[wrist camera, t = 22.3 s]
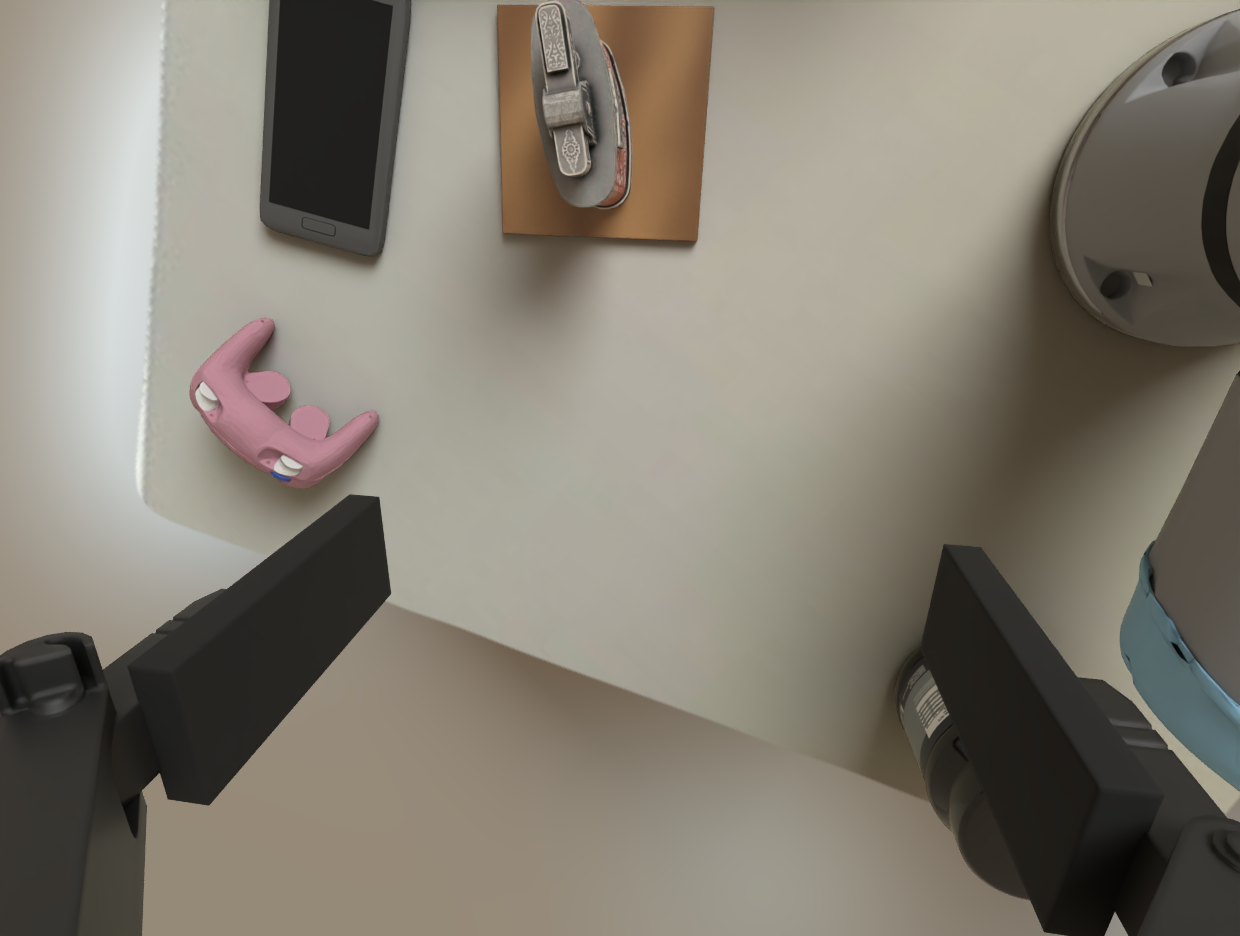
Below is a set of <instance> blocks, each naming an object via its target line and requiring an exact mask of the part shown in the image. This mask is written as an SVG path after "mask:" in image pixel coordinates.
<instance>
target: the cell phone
mask: <svg viewBox="0 0 1240 936" xmlns="http://www.w3.org/2000/svg"><path fill="white" fill-rule="evenodd" d="M410 14H411V0H270V1H269V23H268V44H267V65H266V87H265V108H264V130H263V151H262V173H261V194H260V218H261V221H262V222H263V223H264V224H265V225H266V226H267V227H269V228H271V229H273V230H276V231H278V232H281V233H285V234H288V235H292V236H296V237H299V238H303V239H306V240H310V241H313V242H317V243H321V244H324V245H328V246H331V247H335V248H339V249H342V250H346V251H349V252H353V253H356V254H360V255H365V256H375V255H377V254H380V253H381V252H382V248H383V245H384V241H385V234H386V225H387V216H388V208H389V199H390V190H391V182H392V173H393V165H394V156H395V147H396V139H397V130H398V121H399V113H400V104H401V96H402V87H403V78H404V70H405V61H406V52H407V44H408V35H409V27H410Z"/></svg>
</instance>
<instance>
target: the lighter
mask: <svg viewBox="0 0 1240 936" xmlns="http://www.w3.org/2000/svg"><path fill="white" fill-rule="evenodd" d="M531 76H532V86H533V96H534V106H535V115H536V119H537V123H538V128H539V132H540V136H541V141H542V145H543V149H544V154H545V157H546V160H547V162H548V165H549V168H550V171H551V174H552V177H553V180H554V183H555V186H556V189H557V191H558V192H559V194H560V196H561V198H563V199H564V200H565V201H566V202H567V203H569V204H571V205H574V206H577V207H596V208H598V209H613V208H616V207H619V206H620V205H621V204H623V203H624V202H625V201H626V199H627V198H628V196H629V195H630V191H631V183H632V162H633V152H632V135H631V122H630V116H629V111H628V106H627V100H626V95H625V90H624V86H623V83H622V80H621V76H620V73H619V70H618V67H617V63H616V60H615V57H614V55H613V53H612V51H611V50H610V48H609V46H608V45H607V44H606V43H604V42H603V41H602V40H600V38H599V34H598V31H597V28H596V25H595V21H594V20H593V18H592V16H591V14H590V12H589V10H588V8H587V7H586V6H585V5H584V4H583V3H581V2H580V1H579V0H548V1H546V2H544V3H542V4H540V5H539V6H538V7H537V9H536V13H535V15H534V17H533V21H532V26H531Z"/></svg>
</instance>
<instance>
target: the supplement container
mask: <svg viewBox="0 0 1240 936" xmlns="http://www.w3.org/2000/svg"><path fill="white" fill-rule="evenodd" d="M895 706H896V711H897V714H898V718H899V720H900V723H901V725H902V727H903V729H904V730H905V732H906V735H907V737H908V740H909V742H910V745H911V747H912V750H913V753H914V755H915V758H916V760H917V763H918V765H919V768H920V770H921V773H922V775H923V778H924V781H925V783H926V790H927V794H928V797H929V800H930V802H931V805H932V807H933V809H934V811H935V812H936V814H937V815H938V817H939V818H940V820H941V821H942V822H943V824H944V825H945V826H946V827H947V828H948V829H949V830H950V831H952V832H953V835H954V837H955V840H956V842H957V845H958V847H959V850H960V852H961V854H962V856H963V859H964V860H965V862H966V864H967V865H968V867H969V868H970V869H971V870H972V871H973V872H974V873H975V874H976V875H977V876H978V877H979V878H980V879H981V880H982V881H984V882H985V883H987V884H988V885H990V886H991V887H993V888H995V889H997V890H999V891H1001V892H1003V893H1005V894H1008V895H1011V896H1014V897H1017V898H1021V899H1025V900H1030V899H1029V896H1028V894H1027V892H1026V889H1025V887H1024V885H1023V883H1022V880H1021V878H1020V876H1019V873H1018V871H1017V869H1016V867H1015V864H1014V862H1013V860H1012V857H1011V855H1010V853H1009V850H1008V848H1007V846H1006V844H1005V841H1004V839H1003V837H1002V834H1001V832H1000V830H999V828H998V825H997V823H996V821H995V818H994V816H993V814H992V812H991V809H990V807H989V805H988V802H987V800H986V798H985V796H984V793H983V791H982V789H981V786H980V784H979V782H978V780H977V777H976V775H975V773H974V770H973V768H972V766H971V764H970V761H969V759H968V757H967V754H966V752H965V750H964V747H963V745H962V743H961V741H960V738H959V736H958V734H957V731H956V729H955V727H954V725H953V722H952V720H951V718H950V715H949V713H948V711H947V709H946V706H945V704H944V702H943V699H942V697H941V695H940V693H939V690H938V688H937V686H936V683H935V681H934V679H933V677H932V674H931V672H930V670H929V667H928V665H927V663H926V661H925V658H924V656H923V654H922V651H921V649H920V647H919V648H918V649H917V650H916V651H915V652H914V653H913V654H912V655H911V656H910V657H909V658H908V660H907V661H906V662H905V664H904V665H903V667H902V669H901V671H900V673H899V676H898V679H897V682H896V686H895Z"/></svg>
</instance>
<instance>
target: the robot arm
mask: <svg viewBox="0 0 1240 936" xmlns="http://www.w3.org/2000/svg"><path fill="white" fill-rule="evenodd" d="M1050 238H1051V246H1052V250H1053V255H1054V259H1055V262H1056V265H1057V268H1058V271H1059V273H1060V275H1061V277H1062V279H1063V281H1064V283H1065V285H1066V286H1067V288H1068V290H1069V291H1070V293H1071V294H1072V296H1073V297H1074V298H1075V299H1076V300H1077V302H1078V303H1079V304H1080V305H1081V306H1082V307H1083V308H1084V309H1085V310H1086V311H1087V312H1088V313H1089V314H1091V315H1092V316H1093V317H1095V318H1096V319H1097V320H1099V321H1100V322H1102V323H1104V324H1105V325H1107V326H1109V327H1111V328H1113V329H1115V330H1117V331H1120V332H1122V333H1124V334H1127V335H1131V336H1134V337H1137V338H1141V339H1144V340H1148V341H1152V342H1156V343H1161V344H1166V345H1173V346H1182V347H1203V346H1205V347H1206V346H1222V345H1230V344H1236V343H1240V9H1238V10H1235V11H1232V12H1229V13H1226V14H1223V15H1221V16H1218V17H1216V18H1213V19H1211V20H1208V21H1206V22H1203V23H1200V24H1198V25H1196V26H1194V27H1191V28H1189V29H1187V30H1184V31H1182V32H1180V33H1179V34H1177V35H1175V36H1173V37H1171V38H1169V39H1168V40H1166V41H1164V42H1163V43H1161V44H1159V45H1158V46H1156V47H1155V48H1153V49H1152V50H1150V51H1149V52H1147V53H1146V54H1145V55H1143V56H1142V57H1141V58H1140V59H1138V60H1137V61H1136V62H1134V63H1133V64H1132V65H1131V66H1130V67H1129V68H1127V69H1126V70H1125V71H1124V72H1123V73H1122V74H1121V75H1120V76H1118V77H1117V79H1116V80H1115V81H1114V82H1113V83H1112V84H1111V85H1110V86H1109V87H1108V88H1107V89H1106V90H1105V91H1104V92H1103V93H1102V95H1101V96H1100V97H1099V98H1098V100H1097V101H1096V102H1095V103H1094V104H1093V106H1092V107H1091V109H1090V110H1089V111H1088V113H1087V114H1086V116H1085V117H1084V118H1083V120H1082V122H1081V123H1080V125H1079V127H1078V128H1077V130H1076V132H1075V133H1074V135H1073V137H1072V139H1071V141H1070V143H1069V145H1068V147H1067V149H1066V151H1065V154H1064V156H1063V159H1062V161H1061V164H1060V166H1059V169H1058V173H1057V176H1056V180H1055V183H1054V188H1053V193H1052V198H1051V206H1050ZM390 595H391V589H390V581H389V573H388V565H387V557H386V549H385V540H384V532H383V524H382V516H381V508H380V500H379V497H374V496H362V495H348V496H347V497H346V498H345V499H343V500H342V501H341V502H339V503H338V504H337V505H335V506H334V507H333V508H332V509H330V510H329V511H328V512H326V513H325V514H324V515H323V516H321V517H320V518H319V519H317V520H316V521H315V522H313V523H312V524H311V525H310V526H308V527H307V528H306V529H304V530H303V531H302V532H300V533H299V534H298V535H297V536H295V537H294V538H293V539H291V540H290V541H289V542H287V543H286V544H285V545H284V546H282V547H281V548H280V549H278V550H277V551H276V552H275V553H273V554H272V555H271V556H269V557H268V558H267V559H265V560H264V561H263V562H262V563H260V564H259V565H258V566H256V567H255V568H254V569H252V570H251V571H250V572H249V573H247V574H246V575H245V576H243V577H242V578H241V579H240V580H238V581H237V582H236V583H234V584H233V585H232V586H230V587H229V588H228V589H220V590H218V591H216V592H214V593H212V594H210V595H207V596H205V597H203V598H201V599H199V600H197V601H195V602H193V603H192V604H190V605H189V606H188V607H186V608H185V609H184V610H182V611H181V612H180V613H178V614H177V615H176V616H174V617H173V620H172V621H171V620H169V621H168V622H166V623H165V624H164V625H162V626H161V627H160V628H158V629H157V630H156V633H155V634H153V633H152V634H150V635H149V636H148V637H146V638H145V639H143V640H142V641H141V642H140V643H138V644H137V645H135V646H134V647H133V648H131V649H130V650H129V651H127V652H126V653H125V654H123V655H122V656H121V657H119V658H118V659H117V660H115V661H114V662H113V663H111V664H110V665H109V666H108V667H106V668H105V669H103V670H102V667H101V664H100V660H99V657H98V654H97V651H96V648H95V645H94V642H93V639H92V637H91V636H89V635H86V634H84V633H77V632H64V633H58V634H51V635H46V636H43V637H40V638H37V639H33V640H30V641H27V642H25V643H22V644H21V645H18V646H16V647H14V648H12V649H10V650H8V651H6V652H5V653H3V654H2V655H0V936H142V918H143V892H144V866H145V839H146V813H147V805H146V803H145V799H144V796H143V793H142V790H143V789H144V788H145V787H146V786H147V785H148V784H149V783H150V782H151V781H152V780H153V779H154V778H155V777H156V776H157V775H158V773H160V775H161V778H162V781H163V785H164V787H165V791H166V794H167V798H168V799H169V800H176V801H183V802H189V803H196V804H202V805H210V804H211V803H212V802H213V800H214V799H215V798H216V797H217V796H218V795H219V793H220V792H221V791H222V790H223V789H224V788H225V786H226V785H227V784H228V783H229V782H230V781H231V779H232V778H233V777H234V776H235V775H236V773H237V772H238V771H239V770H240V769H241V768H242V766H243V765H244V764H245V763H246V762H247V761H248V760H249V759H250V757H251V756H252V755H253V754H254V753H255V752H256V750H257V749H258V748H259V747H260V746H261V745H262V743H263V742H264V741H265V740H266V739H267V737H268V736H269V735H270V734H271V733H272V732H273V731H274V729H275V728H276V727H277V726H278V725H279V723H280V722H281V721H282V720H283V719H284V718H285V717H286V715H287V714H288V713H289V712H290V711H291V710H292V709H293V707H294V706H295V705H296V704H297V702H298V701H299V700H300V699H301V698H302V697H303V696H304V695H305V693H306V692H307V691H308V690H309V689H310V688H311V686H312V685H313V684H314V683H315V681H317V679H318V678H319V677H320V676H321V675H322V674H323V672H324V671H325V670H326V669H327V668H328V667H329V665H330V664H331V663H332V662H333V661H334V660H335V659H336V657H337V656H338V655H339V654H340V653H341V652H342V650H343V649H344V648H345V647H346V646H347V645H348V643H349V642H350V641H351V640H352V639H353V638H354V636H355V635H356V634H357V633H358V632H359V631H360V629H361V628H362V627H363V626H364V625H365V623H366V622H367V621H368V620H369V619H370V617H372V615H373V614H374V613H375V612H376V611H377V610H378V608H379V607H380V606H381V605H382V604H383V603H384V602H385V600H386V599H387V598H388V597H389V596H390ZM1120 648H1121V654H1122V657H1123V659H1124V662H1125V664H1126V666H1127V668H1128V670H1129V671H1130V673H1131V674H1132V677H1133V683H1134V685H1135V687H1136V689H1137V691H1138V692H1139V694H1140V695H1141V697H1142V698H1143V699H1144V701H1145V702H1146V703H1147V705H1148V706H1149V708H1150V709H1151V710H1152V712H1153V713H1154V714H1155V715H1156V716H1157V718H1158V719H1159V720H1160V721H1161V722H1162V723H1163V724H1164V726H1165V727H1166V728H1167V729H1168V730H1169V731H1170V732H1171V733H1172V734H1173V735H1174V736H1175V737H1176V738H1177V739H1178V740H1179V741H1180V742H1181V743H1182V744H1183V745H1184V746H1185V747H1186V748H1187V749H1188V750H1189V751H1190V752H1192V753H1193V754H1194V755H1195V756H1196V757H1197V758H1198V759H1200V760H1201V761H1202V762H1203V763H1204V764H1205V765H1207V766H1208V767H1209V768H1210V769H1211V770H1213V771H1214V772H1215V773H1216V774H1218V775H1219V776H1220V777H1221V778H1223V779H1224V780H1225V781H1227V782H1228V783H1229V784H1230V785H1232V786H1233V787H1234V788H1236V789H1237V790H1238V791H1240V371H1239V372H1238V374H1236V377H1235V379H1234V381H1233V383H1232V385H1231V387H1230V389H1229V391H1228V393H1227V395H1226V398H1225V400H1224V402H1223V404H1222V406H1221V408H1220V410H1219V412H1218V414H1217V416H1216V418H1215V421H1214V423H1213V425H1212V427H1211V429H1210V431H1209V433H1208V435H1207V437H1206V439H1205V442H1204V444H1203V446H1202V448H1201V450H1200V452H1199V454H1198V456H1197V458H1196V460H1195V463H1194V465H1193V467H1192V469H1191V471H1190V473H1189V475H1188V477H1187V479H1186V481H1185V484H1184V486H1183V488H1182V490H1181V492H1180V494H1179V496H1178V498H1177V500H1176V502H1175V504H1174V506H1173V508H1172V510H1171V512H1170V514H1169V515H1168V517H1167V519H1166V521H1165V523H1164V525H1163V527H1162V529H1161V531H1160V533H1159V535H1158V537H1157V539H1156V540H1155V541H1153V542H1152V543H1151V544H1150V545H1149V547H1148V548H1147V550H1146V552H1145V553H1144V556H1143V557H1142V558H1141V563H1140V572H1139V581H1138V584H1137V586H1136V589H1135V592H1134V594H1133V597H1132V599H1131V601H1130V604H1129V606H1128V609H1127V611H1126V613H1125V616H1124V618H1123V622H1122V625H1121V631H1120ZM920 649H921V651H922V654H923V656H924V658H925V661H926V663H927V665H928V667H929V670H930V672H931V674H932V677H933V679H934V681H935V683H936V686H937V688H938V690H939V693H940V695H941V697H942V699H943V702H944V704H945V706H946V709H947V711H948V713H949V715H950V718H951V720H952V722H953V725H954V727H955V729H956V731H957V734H958V736H959V738H960V741H961V743H962V745H963V747H964V750H965V752H966V754H967V757H968V759H969V761H970V764H971V766H972V768H973V770H974V773H975V775H976V777H977V780H978V782H979V784H980V786H981V789H982V791H983V793H984V796H985V798H986V800H987V802H988V805H989V807H990V809H991V812H992V814H993V816H994V818H995V821H996V823H997V825H998V828H999V830H1000V832H1001V834H1002V837H1003V839H1004V841H1005V844H1006V846H1007V848H1008V850H1009V853H1010V855H1011V857H1012V860H1013V862H1014V864H1015V867H1016V869H1017V871H1018V873H1019V876H1020V878H1021V880H1022V883H1023V885H1024V887H1025V889H1026V892H1027V894H1028V896H1029V899H1030V901H1031V903H1032V905H1033V908H1034V910H1035V912H1036V915H1037V917H1038V919H1039V921H1040V923H1041V926H1042V928H1043V931H1044V932H1047V933H1053V934H1060V935H1066V936H1104V935H1105V933H1106V931H1107V928H1108V926H1109V924H1110V921H1111V919H1112V917H1113V914H1114V912H1116V914H1117V916H1118V918H1119V919H1120V921H1121V923H1122V925H1123V927H1124V928H1125V930H1126V932H1127V934H1128V936H1240V822H1238V821H1235V820H1233V819H1228V818H1227V817H1226V816H1225V815H1224V813H1223V812H1222V811H1221V810H1220V809H1219V807H1218V806H1217V805H1216V804H1215V802H1214V801H1213V800H1212V799H1211V798H1210V796H1209V795H1208V794H1207V793H1206V791H1205V790H1204V789H1203V788H1202V786H1201V785H1200V784H1199V783H1198V782H1197V780H1196V779H1195V778H1194V777H1193V775H1192V774H1191V773H1190V772H1189V771H1188V769H1187V768H1186V767H1185V766H1184V764H1183V763H1182V762H1181V761H1180V760H1179V758H1178V757H1177V756H1176V755H1175V753H1174V752H1173V751H1172V750H1168V745H1167V744H1166V742H1165V741H1164V740H1163V739H1162V737H1161V736H1160V735H1159V734H1158V733H1157V731H1156V730H1152V725H1151V724H1150V723H1149V722H1148V720H1147V719H1146V718H1145V717H1144V715H1143V714H1142V713H1141V712H1140V711H1139V709H1138V708H1137V707H1136V706H1135V704H1134V703H1133V702H1132V701H1131V700H1129V699H1128V698H1127V697H1125V696H1124V695H1122V694H1121V693H1120V692H1118V691H1117V690H1116V689H1114V688H1113V687H1112V686H1110V685H1109V684H1108V683H1106V682H1105V681H1103V680H1098V679H1088V678H1079V677H1077V676H1076V675H1075V674H1074V672H1073V671H1072V670H1071V668H1070V667H1069V666H1068V664H1067V663H1066V661H1065V660H1064V659H1063V657H1062V656H1061V655H1060V653H1059V652H1058V651H1057V649H1056V648H1055V647H1054V645H1053V644H1052V643H1051V641H1050V640H1049V639H1048V637H1047V636H1046V635H1045V633H1044V632H1043V631H1042V629H1041V628H1040V626H1039V625H1038V624H1037V622H1036V621H1035V620H1034V618H1033V617H1032V616H1031V614H1030V613H1029V612H1028V610H1027V609H1026V608H1025V606H1024V605H1023V604H1022V602H1021V601H1020V600H1019V598H1018V597H1017V595H1016V594H1015V593H1014V591H1013V590H1012V589H1011V587H1010V586H1009V585H1008V583H1007V582H1006V581H1005V579H1004V578H1003V577H1002V575H1001V574H1000V573H999V571H998V570H997V569H996V567H995V566H994V564H993V563H992V562H991V560H990V559H989V558H988V556H987V555H986V554H985V552H984V551H983V550H982V548H981V547H971V546H959V545H947V544H944V545H943V550H942V554H941V559H940V563H939V568H938V572H937V576H936V581H935V585H934V590H933V594H932V599H931V603H930V607H929V612H928V616H927V621H926V625H925V630H924V634H923V638H922V643H921V647H920Z"/></svg>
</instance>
